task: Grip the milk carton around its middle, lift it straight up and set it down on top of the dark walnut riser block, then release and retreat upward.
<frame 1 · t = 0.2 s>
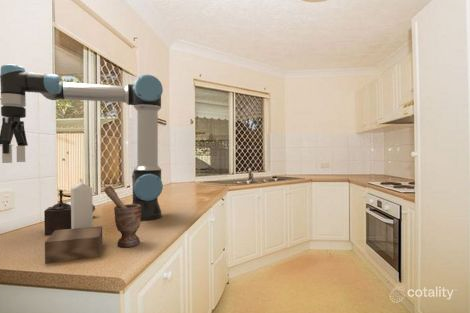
hand: (14, 162, 112), 28 cm above the countertop, fingers open, 13 cm apart
milk: (82, 240, 105), on the countertop
coffee grinder: (68, 230, 119), on the countertop
riser: (76, 252, 92), on the countertop
mortar and pestle: (123, 245, 99), on the countertop
cupcake: (85, 218, 142), on the countertop
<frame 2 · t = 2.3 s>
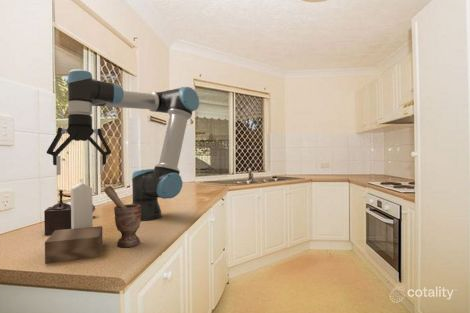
hand: (80, 174, 104), 24 cm above the countertop, fingers open, 13 cm apart
nothing on the countertop moved.
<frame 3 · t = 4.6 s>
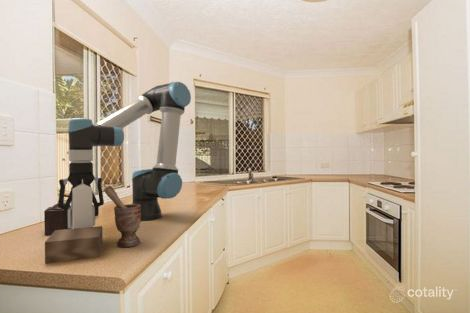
hand: (82, 226, 105), 5 cm above the countertop, fingers closed on milk, 7 cm apart
milk: (82, 240, 105), on the countertop, touching gripper
everything else where it was.
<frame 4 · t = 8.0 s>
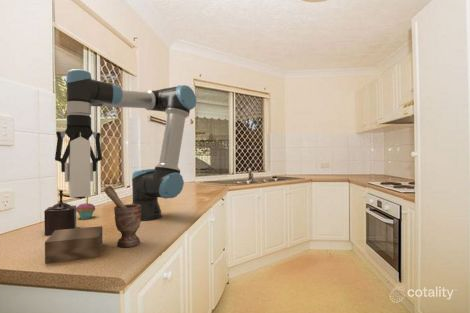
hand: (79, 181, 102), 21 cm above the countertop, fingers closed on milk, 7 cm apart
milk: (79, 196, 102), point 16 cm above the countertop, touching gripper
everything else where it was.
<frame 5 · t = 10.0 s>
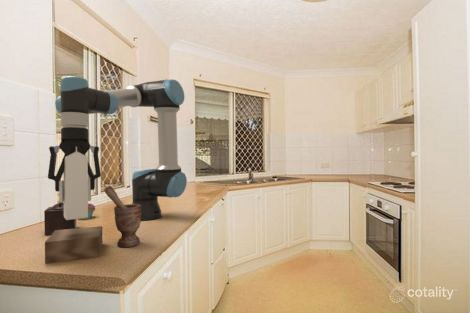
hand: (75, 201, 92), 16 cm above the countertop, fingers closed on milk, 7 cm apart
milk: (75, 217, 92), point 11 cm above the countertop, touching gripper
everything else where it was.
when the fingers open (12 cm above the countertop, at t = 11.6 s): milk drops 1 cm, resting on riser.
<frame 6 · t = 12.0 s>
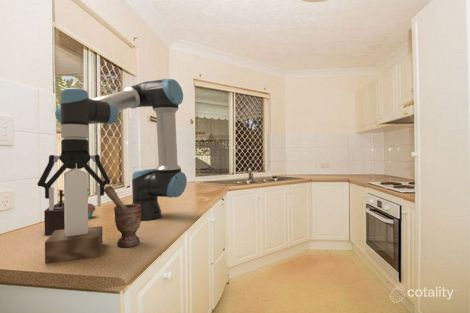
hand: (76, 207, 92), 14 cm above the countertop, fingers open, 12 cm apart
milk: (76, 233, 92), point 6 cm above the countertop, touching riser
everything else where it was.
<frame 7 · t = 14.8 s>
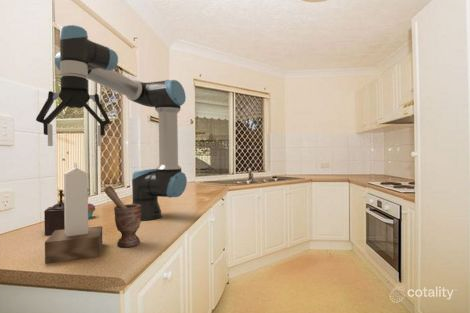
hand: (75, 146, 92), 33 cm above the countertop, fingers open, 13 cm apart
nothing on the countertop moved.
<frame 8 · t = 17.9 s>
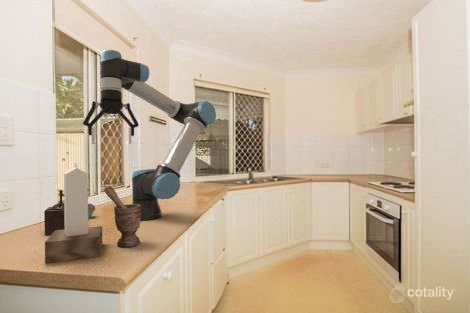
hand: (112, 144, 117), 35 cm above the countertop, fingers open, 13 cm apart
nothing on the countertop moved.
at the end: milk inside the target area on the riser (0.0 cm from its centre), point 5.8 cm above the riser's base; milk tilted 0°; milk touching riser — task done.
